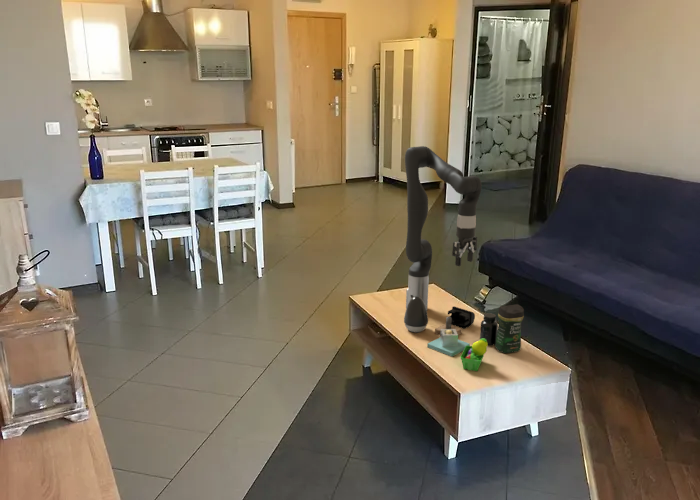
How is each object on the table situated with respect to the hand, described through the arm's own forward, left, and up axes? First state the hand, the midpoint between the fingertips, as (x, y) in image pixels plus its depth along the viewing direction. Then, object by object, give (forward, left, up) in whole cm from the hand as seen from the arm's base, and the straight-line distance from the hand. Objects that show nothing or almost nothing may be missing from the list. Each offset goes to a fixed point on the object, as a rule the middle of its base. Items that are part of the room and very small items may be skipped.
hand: (464, 263), depth 240 cm
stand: (-2, -6, -30) cm, 31 cm away
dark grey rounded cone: (-14, -13, -30) cm, 36 cm away
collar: (+6, -17, -29) cm, 34 cm away
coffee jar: (+24, -2, -30) cm, 39 cm away
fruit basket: (+22, -23, -30) cm, 44 cm away
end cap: (-4, +6, -30) cm, 31 cm away
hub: (+6, -17, -30) cm, 35 cm away
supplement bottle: (+15, -2, -30) cm, 34 cm away
